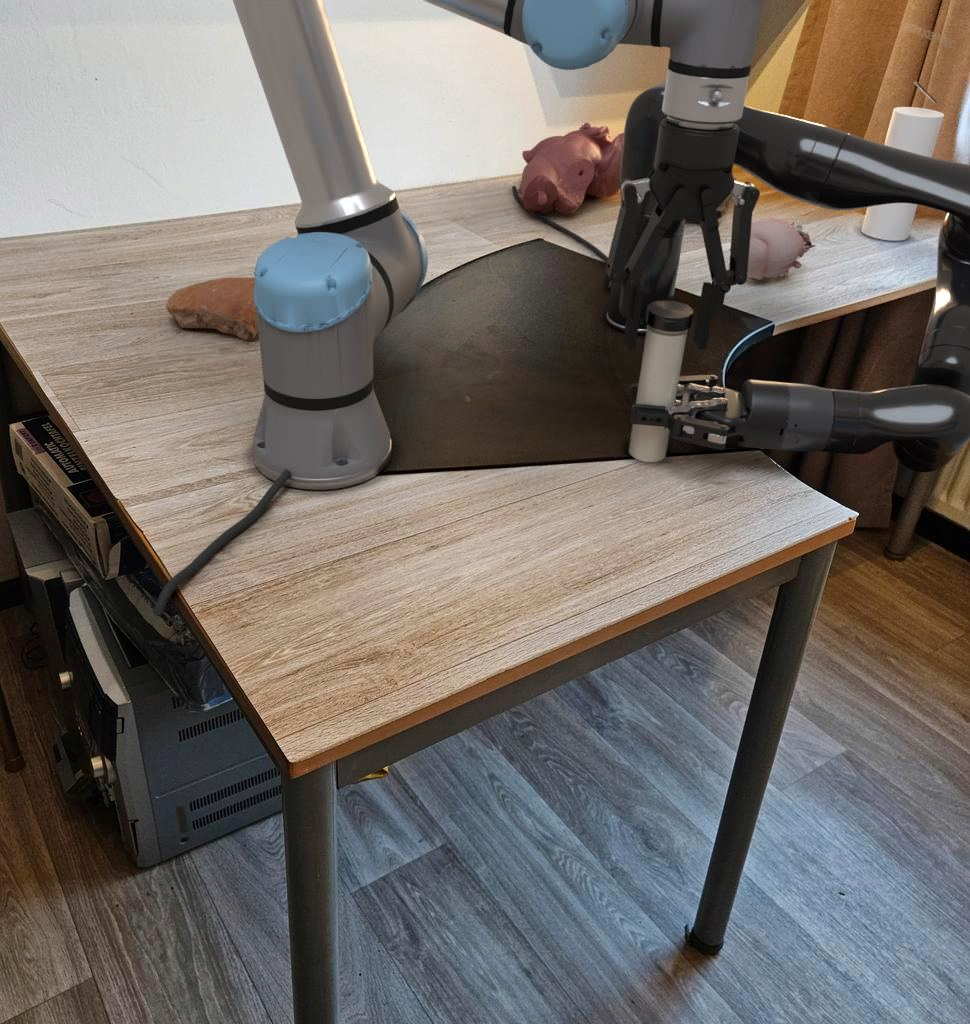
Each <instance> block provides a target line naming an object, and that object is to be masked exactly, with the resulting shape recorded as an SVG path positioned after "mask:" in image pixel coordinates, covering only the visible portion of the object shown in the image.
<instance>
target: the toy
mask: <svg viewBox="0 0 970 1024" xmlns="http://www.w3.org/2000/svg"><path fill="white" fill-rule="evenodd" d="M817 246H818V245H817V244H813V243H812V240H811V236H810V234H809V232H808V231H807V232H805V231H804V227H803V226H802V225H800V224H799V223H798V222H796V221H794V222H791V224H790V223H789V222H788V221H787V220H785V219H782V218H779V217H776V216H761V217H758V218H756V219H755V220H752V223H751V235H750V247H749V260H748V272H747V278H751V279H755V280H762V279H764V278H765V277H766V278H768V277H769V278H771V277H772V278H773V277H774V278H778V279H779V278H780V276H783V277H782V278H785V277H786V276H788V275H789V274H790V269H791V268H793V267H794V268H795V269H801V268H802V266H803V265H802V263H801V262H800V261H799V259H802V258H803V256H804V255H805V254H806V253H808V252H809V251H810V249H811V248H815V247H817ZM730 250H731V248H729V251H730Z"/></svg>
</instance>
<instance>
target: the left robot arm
mask: <svg viewBox="0 0 970 1024" xmlns="http://www.w3.org/2000/svg"><path fill="white" fill-rule="evenodd" d="M423 1H424V2H426V3H429V4H431V5H433V6H435V7H438V8H441V9H443V10H445V11H447V12H450V13H453V14H455V15H457V16H460V17H462V18H465V19H467V20H469V21H471V22H474V23H477V24H479V25H480V26H484V27H486V28H489V29H491V30H493V31H495V32H499V33H501V34H503V35H505V36H507V37H510V38H512V39H514V40H515V41H517V42H520V43H522V44H525V45H527V46H529V48H530V49H531V51H532V52H533V53H534V54H535V56H536V57H538V59H539V60H541V62H543V63H544V64H546V65H547V66H550V67H551V68H555V69H558V70H565V71H574V70H580V69H584V68H589V67H591V66H592V65H594V64H597V63H600V62H601V61H603V60H604V59H606V58H608V56H609V55H610V54H611V53H612V52H614V50H615V48H616V47H617V46H618V45H633V46H647V47H653V48H668V49H669V59H668V63H667V72H666V78H665V79H666V80H665V81H666V85H665V92H664V99H663V106H662V111H663V113H664V114H665V115H666V116H667V117H666V118H664V119H663V121H661V122H660V128H659V135H658V142H657V149H656V156H655V163H654V167H653V169H652V171H651V172H650V173H649V175H648V178H644V179H639V180H635V181H631V180H630V179H628V178H625V179H623V180H622V181H621V183H620V189H619V191H620V200H621V201H622V203H621V201H620V206H619V211H618V214H617V215H618V216H617V219H616V224H615V227H614V228H615V229H614V232H613V236H612V240H611V244H610V249H609V253H608V256H607V257H608V260H607V263H606V265H605V272H606V275H607V277H608V279H609V282H610V281H611V282H613V283H616V282H617V283H619V284H621V293H620V301H619V309H620V312H621V314H622V316H627V318H626V325H625V331H623V340H624V342H625V344H626V346H627V347H626V348H627V349H628V350H629V349H633V350H635V349H636V347H637V341H638V334H637V333H638V326H639V319H640V313H641V306H642V299H643V292H644V290H643V288H642V287H641V285H640V283H639V281H640V279H641V277H642V275H643V273H644V271H645V269H646V267H647V265H648V264H649V262H650V260H651V258H652V256H653V254H654V252H655V250H656V248H657V247H658V245H659V243H660V241H661V239H662V237H663V235H664V233H665V232H666V230H668V229H669V228H670V226H671V224H672V222H673V221H681V220H685V219H690V220H693V221H700V224H699V225H700V229H701V233H702V237H703V239H702V240H703V243H704V249H705V254H706V258H707V259H706V260H707V264H708V268H709V274H710V279H711V282H709V281H707V282H706V281H703V282H702V287H701V294H700V298H699V304H698V310H697V316H696V320H695V321H696V322H695V327H694V333H693V341H694V343H695V345H696V346H697V348H698V350H699V351H700V350H703V351H704V350H707V347H708V343H709V338H710V337H709V336H710V331H711V327H712V320H713V319H718V318H720V317H721V315H722V314H723V309H724V303H725V299H726V294H727V293H729V292H730V290H731V288H732V286H735V285H739V286H742V285H744V284H745V283H746V282H747V280H748V276H747V272H748V260H749V247H750V235H751V223H752V222H753V213H754V210H755V207H756V205H757V203H758V201H759V198H760V195H761V192H760V190H759V189H758V187H756V186H755V185H754V184H753V183H752V182H750V181H745V182H740V181H737V180H736V181H734V178H735V177H734V175H733V169H734V168H733V167H734V159H735V153H736V148H737V142H738V137H739V132H740V130H739V128H738V126H737V125H736V124H735V123H734V122H737V121H739V120H740V119H741V118H742V114H743V108H744V106H745V104H746V103H745V102H746V97H747V92H748V85H749V80H750V73H751V69H752V63H753V59H754V55H755V48H756V44H757V39H758V38H757V37H758V33H759V29H760V24H761V18H762V13H763V8H764V3H765V0H423ZM232 2H233V5H234V8H235V11H236V14H237V17H238V20H239V23H240V25H241V29H242V32H243V34H244V37H245V41H246V43H247V46H248V49H249V51H250V52H249V53H250V55H251V59H252V61H253V64H254V66H255V69H256V72H257V75H258V79H259V82H260V84H261V87H262V91H263V93H264V96H265V98H266V102H267V104H268V108H269V111H270V113H271V116H272V119H273V122H274V126H275V128H276V131H277V133H278V137H279V139H280V143H281V145H282V148H283V151H284V154H285V157H286V161H287V163H288V166H289V169H290V172H291V174H292V177H293V182H294V183H295V186H296V189H297V192H298V196H299V198H300V202H301V206H300V209H299V211H298V213H297V215H296V217H295V219H294V222H293V223H294V226H295V229H296V231H297V234H296V235H297V236H296V237H289V236H287V237H285V238H281V239H280V240H278V241H275V242H274V243H272V244H271V245H269V246H268V247H267V248H265V249H264V251H262V253H261V254H260V255H259V256H258V258H257V261H256V263H255V267H254V278H255V286H254V303H255V306H256V312H257V321H258V331H259V332H258V340H259V349H260V359H261V369H262V378H263V388H264V390H263V391H264V396H263V400H262V404H261V408H260V412H259V415H258V419H257V423H256V427H255V430H254V434H253V439H252V441H253V442H252V455H253V460H254V464H255V467H256V468H257V470H258V471H259V472H260V473H261V474H262V475H263V476H265V477H266V478H268V479H269V480H271V481H273V484H272V485H271V486H270V487H269V488H268V489H267V491H266V492H265V493H264V495H263V496H262V497H261V499H260V500H259V502H257V504H256V506H254V508H253V509H252V510H251V511H250V512H249V513H248V514H247V515H246V516H244V517H243V518H242V519H241V520H239V521H238V522H236V523H235V524H233V525H232V526H230V527H229V528H228V529H227V530H225V531H224V532H223V533H222V534H220V535H219V536H218V537H217V538H216V539H214V540H213V541H212V542H211V543H210V544H209V545H208V546H207V547H206V548H205V549H203V551H201V553H200V554H198V555H197V557H196V558H195V559H193V560H192V561H191V562H190V563H189V564H188V565H187V566H185V568H183V569H182V570H181V571H179V572H177V574H175V575H174V576H173V577H171V578H170V580H168V582H167V583H166V584H165V585H164V587H163V588H162V590H161V591H160V593H159V595H158V598H157V599H156V603H155V605H154V608H153V612H152V613H153V615H154V616H155V617H157V616H159V617H160V616H161V615H163V614H164V613H165V611H166V608H167V606H168V603H169V601H170V598H171V596H172V595H173V594H174V591H175V590H176V589H177V588H178V586H180V585H181V584H183V582H185V581H186V580H188V579H189V578H190V577H192V576H193V575H194V574H196V572H197V571H198V570H199V569H200V568H201V567H202V566H203V565H204V564H205V563H206V562H207V561H208V560H209V559H210V558H211V557H213V555H214V554H215V553H216V552H217V551H218V550H220V549H221V548H222V547H223V546H224V545H225V544H227V542H229V541H231V539H232V538H234V537H235V536H236V535H238V534H239V533H241V532H242V531H244V530H245V529H246V528H247V527H249V526H250V525H251V524H252V523H254V522H255V521H256V520H257V519H258V518H259V517H260V515H262V513H263V512H264V511H265V510H266V509H267V507H268V506H269V505H270V503H271V502H272V500H273V499H274V498H275V496H276V495H277V494H278V492H279V491H280V490H281V489H282V488H283V486H286V487H290V488H295V489H301V490H312V491H314V490H315V491H323V490H327V491H328V490H337V489H342V488H348V487H351V486H355V485H358V484H361V483H363V482H366V481H368V480H370V479H373V478H374V477H375V476H377V475H378V474H380V473H381V472H382V471H383V470H384V469H385V468H386V467H387V466H388V464H389V463H390V461H391V458H392V438H391V432H390V430H391V427H390V426H389V424H388V422H387V420H386V419H385V417H384V413H383V411H382V408H381V406H380V403H379V400H378V398H377V395H376V393H375V385H374V343H375V340H376V338H377V337H378V336H379V335H380V334H381V333H383V331H384V330H385V329H386V328H387V327H388V326H389V325H390V324H391V323H392V322H393V321H394V320H395V319H396V317H397V316H398V315H400V314H402V313H403V312H404V311H405V310H407V309H408V308H409V307H410V306H411V304H412V303H413V302H414V301H415V299H416V297H417V296H418V294H419V292H420V290H421V288H422V287H423V284H424V282H425V279H426V276H427V272H428V262H429V261H428V258H429V257H428V250H427V246H426V242H425V240H424V237H423V234H422V233H421V231H420V230H419V227H418V226H417V225H416V224H415V222H414V221H413V220H412V219H410V218H409V217H408V218H409V219H408V218H406V217H405V216H404V215H403V213H402V212H400V209H401V208H400V206H399V203H398V199H397V195H396V193H395V191H394V190H393V189H391V188H389V187H388V186H386V185H384V184H382V183H381V182H380V181H379V180H378V179H377V177H376V172H375V170H374V167H373V163H372V161H371V157H370V153H369V150H368V147H367V144H366V143H367V142H366V140H365V138H364V137H365V136H364V134H363V130H362V127H361V124H360V120H359V117H358V114H357V111H356V108H355V105H354V104H355V103H354V101H353V98H352V94H351V90H350V87H349V84H348V80H347V78H346V75H345V71H344V67H343V65H342V62H341V58H340V55H339V52H338V48H337V44H336V41H335V38H334V34H333V31H332V28H331V24H330V22H329V18H328V14H327V12H326V8H325V5H324V2H323V0H232ZM647 191H651V193H652V194H653V196H654V198H655V200H656V202H657V203H656V205H655V207H654V209H653V211H652V213H651V218H650V221H649V222H648V224H647V226H646V228H645V230H644V232H643V234H642V236H641V238H640V240H639V242H638V244H637V246H636V248H635V250H634V251H633V253H632V255H631V257H630V259H629V261H628V263H627V265H626V267H625V269H623V268H624V264H625V260H626V256H627V252H628V248H629V244H630V240H631V236H632V232H633V229H634V225H635V221H636V217H637V212H638V204H639V203H641V202H642V201H643V200H644V195H645V193H646V192H647ZM730 193H732V196H731V201H732V203H733V209H732V210H733V211H732V222H731V224H732V225H731V238H730V239H731V240H730V249H731V250H729V266H728V267H729V268H728V269H727V267H726V261H725V256H724V250H723V246H722V245H723V244H722V240H721V234H720V230H719V227H720V224H719V218H717V212H716V208H717V207H718V206H719V205H720V204H721V203H722V202H723V201H724V200H725V198H726V197H727V196H728V195H729V194H730ZM174 808H175V811H176V812H175V814H176V817H177V818H176V819H177V825H178V830H179V833H180V834H186V833H188V832H189V824H188V818H187V812H186V807H185V806H178V805H175V806H174Z"/></svg>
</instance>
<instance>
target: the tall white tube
mask: <svg viewBox="0 0 970 1024" xmlns="http://www.w3.org/2000/svg"><path fill="white" fill-rule="evenodd" d="M904 30H905V31H907V32H910V33H912V32H913V34H915V33H916V34H917V35H918V36H921V37H923V38H924V37H925V39H928V40H930V41H931V40H932V41H933V42H937V40H938V44H939V43H940V44H942V45H943V46H946V47H947V48H948V47H949V49H950V48H951V49H952V50H953V49H954V48H955V45H956V40H954V39H951V38H948V37H946V36H942V37H941V34H938V35H937V33H934V32H933V31H931V30H926V29H923V34H921V31H922V27H920V26H918V25H915V24H912V23H909V22H908V21H907V22H905V26H904ZM927 33H928V35H927ZM940 37H941V38H940ZM940 39H941V42H940ZM945 39H946V40H945ZM944 42H945V43H944ZM952 43H954V44H953V46H952ZM913 84H914V85H915V86H916V87H917V88H919V90H920V91H921V92H922V95H923V96H924V97H926V98H928V99H929V100H930V101H931V102H932V103H934V104H937V103H938V101H937V100H936V99H935V98H934V97H932V95H931V94H930V93H929V92H928V91H927V90H926V89H925V88H924V87H923V86H922V85H921V84H920V83H919V82H918V81H915V80H914V82H913ZM944 117H945V114H944V113H943V112H940V111H937V110H936V109H935V110H934V109H929V108H924V107H915V106H914V107H913V106H897V107H894V108H893V110H892V114H891V118H890V122H889V126H888V129H887V133H886V137H885V140H884V144H883V145H886V146H890V147H894V148H897V149H901V150H904V151H908V152H912V153H915V154H919V155H923V156H927V157H932V158H933V155H934V151H935V148H936V145H937V142H938V141H937V140H938V138H939V134H940V130H941V127H942V124H943V121H944ZM918 206H919V205H916V204H908V203H893V204H885V205H878V206H872V207H866V212H865V215H864V220H863V222H862V227H861V232H862V233H863V234H864V235H866V236H868V237H871V238H873V239H878V240H884V241H893V242H895V241H897V242H898V241H899V242H900V241H905V240H907V239H909V236H910V233H911V229H912V226H913V222H914V219H915V215H916V211H917V210H918V209H917V208H918Z"/></svg>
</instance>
